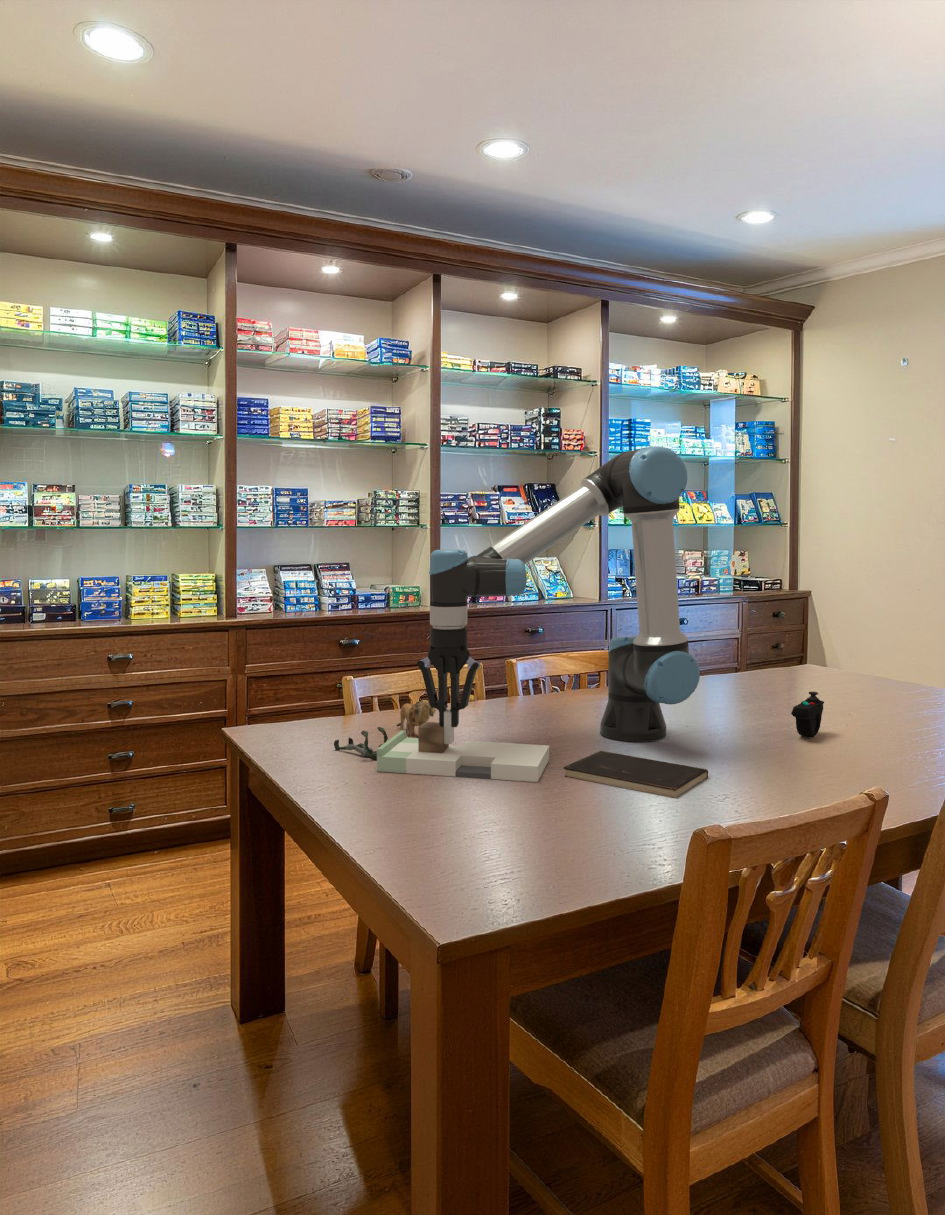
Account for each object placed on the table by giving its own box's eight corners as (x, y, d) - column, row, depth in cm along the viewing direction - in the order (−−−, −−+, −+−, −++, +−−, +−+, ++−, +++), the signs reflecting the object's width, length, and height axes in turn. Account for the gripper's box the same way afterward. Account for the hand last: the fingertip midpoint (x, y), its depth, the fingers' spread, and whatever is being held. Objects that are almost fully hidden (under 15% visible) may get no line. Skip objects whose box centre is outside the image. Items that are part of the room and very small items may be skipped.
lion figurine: (438, 739, 195) (438, 700, 194) (418, 742, 192) (418, 702, 191) (405, 726, 207) (405, 690, 206) (386, 729, 204) (386, 692, 203)
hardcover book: (674, 801, 152) (675, 788, 152) (562, 778, 166) (562, 767, 166) (708, 780, 165) (708, 768, 165) (601, 760, 179) (601, 750, 178)
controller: (825, 733, 199) (826, 691, 199) (807, 744, 190) (809, 700, 189) (806, 731, 202) (807, 689, 201) (788, 741, 193) (789, 697, 192)
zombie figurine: (352, 717, 188) (396, 729, 177) (352, 747, 188) (395, 762, 178) (332, 720, 184) (375, 733, 173) (331, 751, 185) (375, 766, 174)
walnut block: (448, 747, 176) (448, 723, 175) (442, 753, 171) (442, 728, 171) (425, 745, 177) (425, 721, 177) (418, 751, 172) (418, 727, 172)
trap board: (549, 759, 177) (549, 738, 177) (537, 782, 162) (537, 758, 161) (401, 750, 185) (401, 730, 184) (377, 771, 169) (376, 749, 169)
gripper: (484, 625, 173) (484, 739, 176) (422, 623, 176) (423, 736, 178) (476, 629, 166) (476, 748, 168) (412, 628, 169) (413, 745, 171)
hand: (449, 742), depth 173 cm, fingers closed
